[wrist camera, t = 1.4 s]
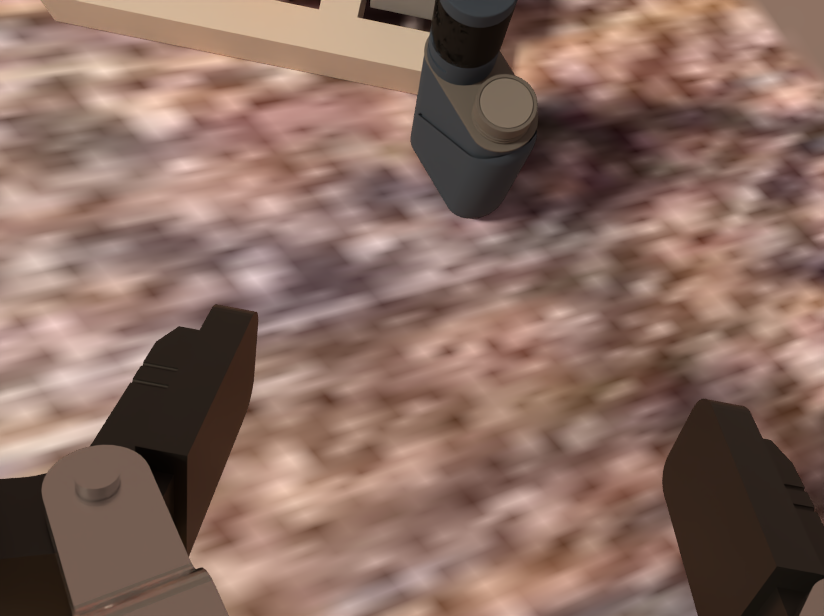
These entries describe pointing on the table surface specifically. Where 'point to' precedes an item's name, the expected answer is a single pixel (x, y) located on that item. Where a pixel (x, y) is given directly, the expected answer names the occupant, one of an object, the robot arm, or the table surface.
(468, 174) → the vaping device
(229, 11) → the keypad base
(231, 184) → the table surface
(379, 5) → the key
